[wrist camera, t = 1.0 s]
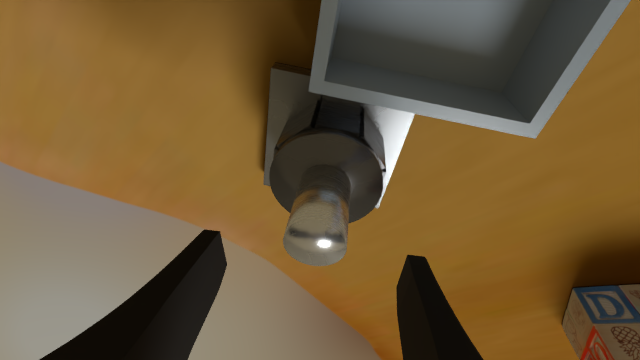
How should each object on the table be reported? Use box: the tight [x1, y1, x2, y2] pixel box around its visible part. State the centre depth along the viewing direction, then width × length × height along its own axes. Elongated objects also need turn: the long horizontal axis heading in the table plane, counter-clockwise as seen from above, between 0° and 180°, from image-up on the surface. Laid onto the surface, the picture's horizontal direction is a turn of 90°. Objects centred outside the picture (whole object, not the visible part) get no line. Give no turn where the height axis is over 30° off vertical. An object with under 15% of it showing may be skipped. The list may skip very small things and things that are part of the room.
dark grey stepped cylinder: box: [269, 99, 386, 266], centre depth 16 cm, size 6×6×8 cm
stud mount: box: [264, 62, 415, 208], centre depth 18 cm, size 8×8×4 cm
